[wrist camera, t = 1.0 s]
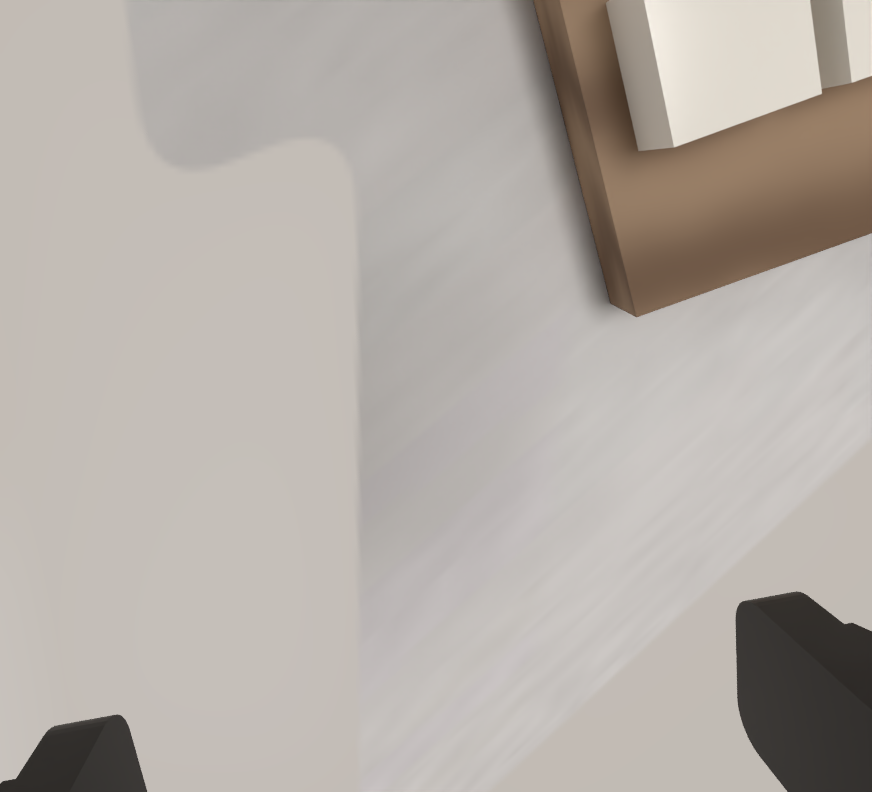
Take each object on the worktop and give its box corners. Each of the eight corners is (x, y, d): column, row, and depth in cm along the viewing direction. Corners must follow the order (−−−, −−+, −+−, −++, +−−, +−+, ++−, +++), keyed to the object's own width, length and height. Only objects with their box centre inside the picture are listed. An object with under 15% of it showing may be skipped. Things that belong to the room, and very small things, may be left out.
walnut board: (504, -112, 24) (522, -152, 21) (930, -272, 23) (1007, -333, 20) (610, 303, 29) (636, 317, 26) (959, 178, 28) (1024, 178, 26)
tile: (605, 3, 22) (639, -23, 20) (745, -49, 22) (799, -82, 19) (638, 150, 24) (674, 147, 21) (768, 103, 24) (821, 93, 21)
